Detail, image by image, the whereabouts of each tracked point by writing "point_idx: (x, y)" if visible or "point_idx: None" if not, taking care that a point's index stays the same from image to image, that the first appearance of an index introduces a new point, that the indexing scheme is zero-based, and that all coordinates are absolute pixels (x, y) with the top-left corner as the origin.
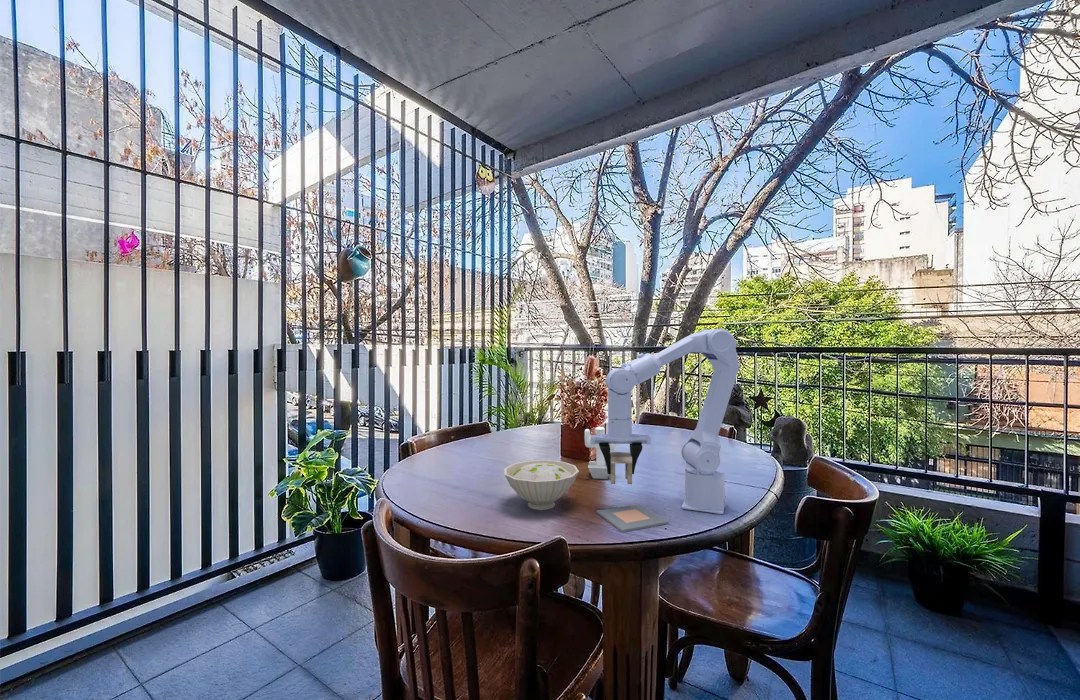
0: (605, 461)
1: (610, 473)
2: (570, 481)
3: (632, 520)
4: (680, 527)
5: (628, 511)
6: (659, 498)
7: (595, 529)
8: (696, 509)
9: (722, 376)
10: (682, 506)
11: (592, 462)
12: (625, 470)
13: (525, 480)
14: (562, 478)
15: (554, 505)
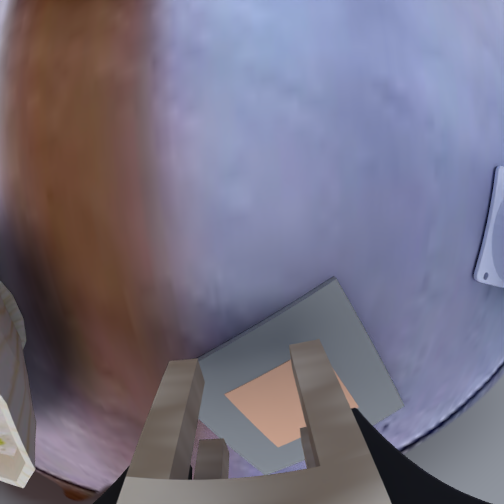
0: (117, 484)
1: (189, 472)
2: (33, 445)
3: (298, 431)
4: (423, 409)
5: (286, 372)
6: (419, 165)
7: (192, 465)
8: (501, 287)
9: None
10: (478, 276)
11: None
12: (299, 392)
13: None
14: (21, 474)
15: (22, 324)
